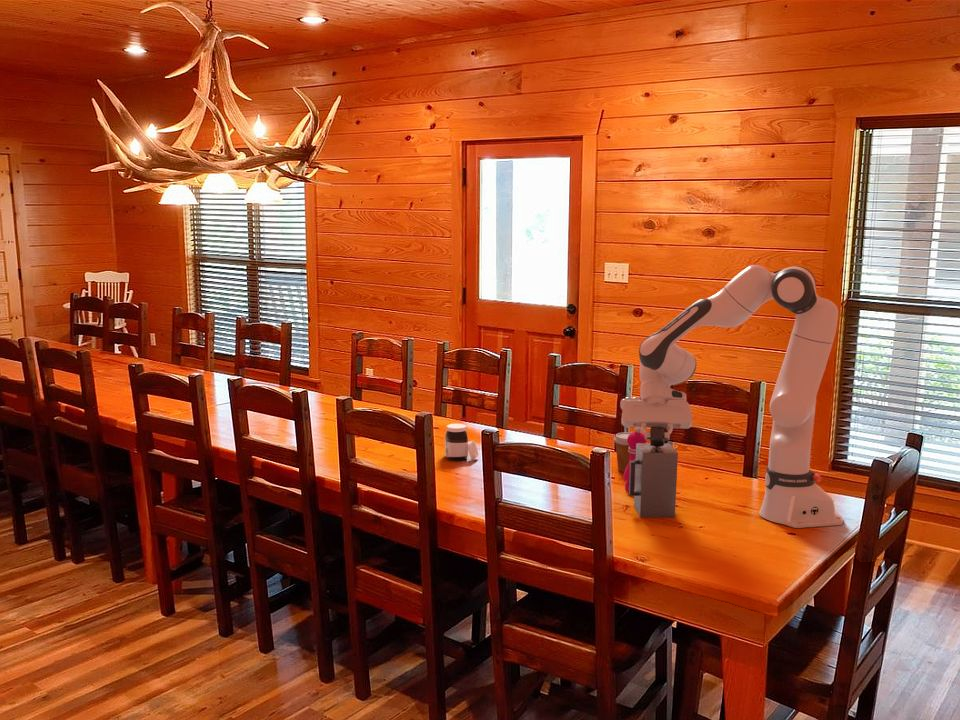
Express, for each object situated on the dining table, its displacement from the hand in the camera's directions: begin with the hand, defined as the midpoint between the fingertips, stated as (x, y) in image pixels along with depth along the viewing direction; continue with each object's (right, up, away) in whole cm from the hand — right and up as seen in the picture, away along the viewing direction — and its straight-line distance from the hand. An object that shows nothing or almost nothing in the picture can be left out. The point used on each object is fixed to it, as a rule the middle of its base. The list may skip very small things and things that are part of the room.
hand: (657, 439), depth 251 cm
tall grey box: (-1, -21, +5) cm, 22 cm away
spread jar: (-57, -12, +56) cm, 81 cm away
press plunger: (0, -14, +3) cm, 14 cm away
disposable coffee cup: (-1, -15, +44) cm, 46 cm away
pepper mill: (-2, -18, +24) cm, 30 cm away
